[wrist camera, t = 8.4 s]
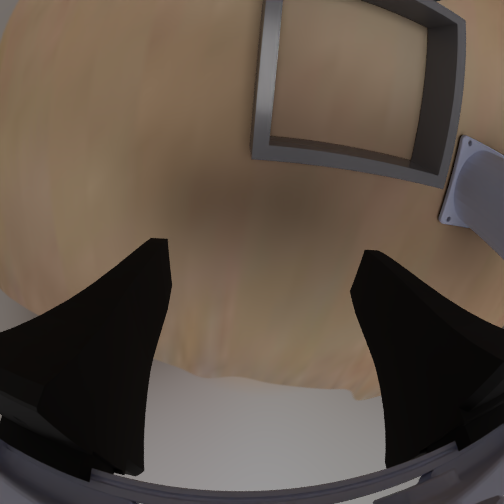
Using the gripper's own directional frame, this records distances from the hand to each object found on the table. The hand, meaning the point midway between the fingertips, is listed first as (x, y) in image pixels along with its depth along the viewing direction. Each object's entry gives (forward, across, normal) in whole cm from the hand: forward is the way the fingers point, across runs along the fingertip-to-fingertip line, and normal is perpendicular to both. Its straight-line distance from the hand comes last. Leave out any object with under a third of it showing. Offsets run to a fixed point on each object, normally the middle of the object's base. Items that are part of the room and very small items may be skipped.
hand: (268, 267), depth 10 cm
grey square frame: (+9, -6, -9) cm, 14 cm away
